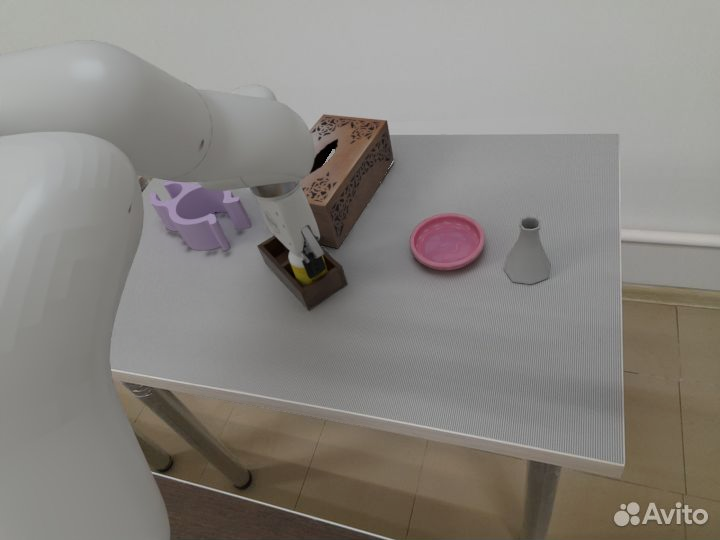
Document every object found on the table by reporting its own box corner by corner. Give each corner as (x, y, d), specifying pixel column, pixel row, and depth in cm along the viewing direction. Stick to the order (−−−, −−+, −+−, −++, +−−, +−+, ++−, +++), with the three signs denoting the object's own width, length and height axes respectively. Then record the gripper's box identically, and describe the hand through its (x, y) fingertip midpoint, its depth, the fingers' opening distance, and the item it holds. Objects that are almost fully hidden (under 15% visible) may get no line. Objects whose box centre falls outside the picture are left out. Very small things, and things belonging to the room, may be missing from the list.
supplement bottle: (318, 298, 87) (302, 257, 80) (293, 287, 89) (276, 247, 82) (336, 275, 89) (322, 234, 82) (311, 266, 92) (296, 225, 85)
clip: (151, 232, 108) (134, 207, 103) (192, 195, 115) (178, 170, 110) (219, 259, 99) (204, 233, 94) (260, 217, 105) (248, 190, 100)
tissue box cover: (334, 154, 115) (323, 114, 107) (394, 162, 109) (387, 120, 101) (272, 233, 100) (255, 193, 93) (337, 248, 94) (325, 206, 87)
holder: (308, 311, 86) (301, 293, 83) (265, 263, 96) (257, 245, 93) (347, 284, 89) (342, 266, 85) (301, 240, 98) (294, 222, 95)
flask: (555, 282, 81) (561, 236, 73) (507, 287, 82) (509, 243, 74) (545, 249, 86) (550, 203, 78) (500, 254, 87) (500, 209, 79)
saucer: (456, 289, 83) (455, 276, 81) (397, 258, 90) (394, 245, 88) (499, 242, 88) (499, 228, 86) (440, 216, 95) (439, 203, 93)
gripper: (224, 164, 77) (264, 249, 90) (280, 217, 66) (316, 305, 79) (267, 140, 79) (300, 227, 92) (328, 188, 68) (355, 278, 82)
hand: (307, 262), depth 86 cm, fingers closed on supplement bottle, 5 cm apart
